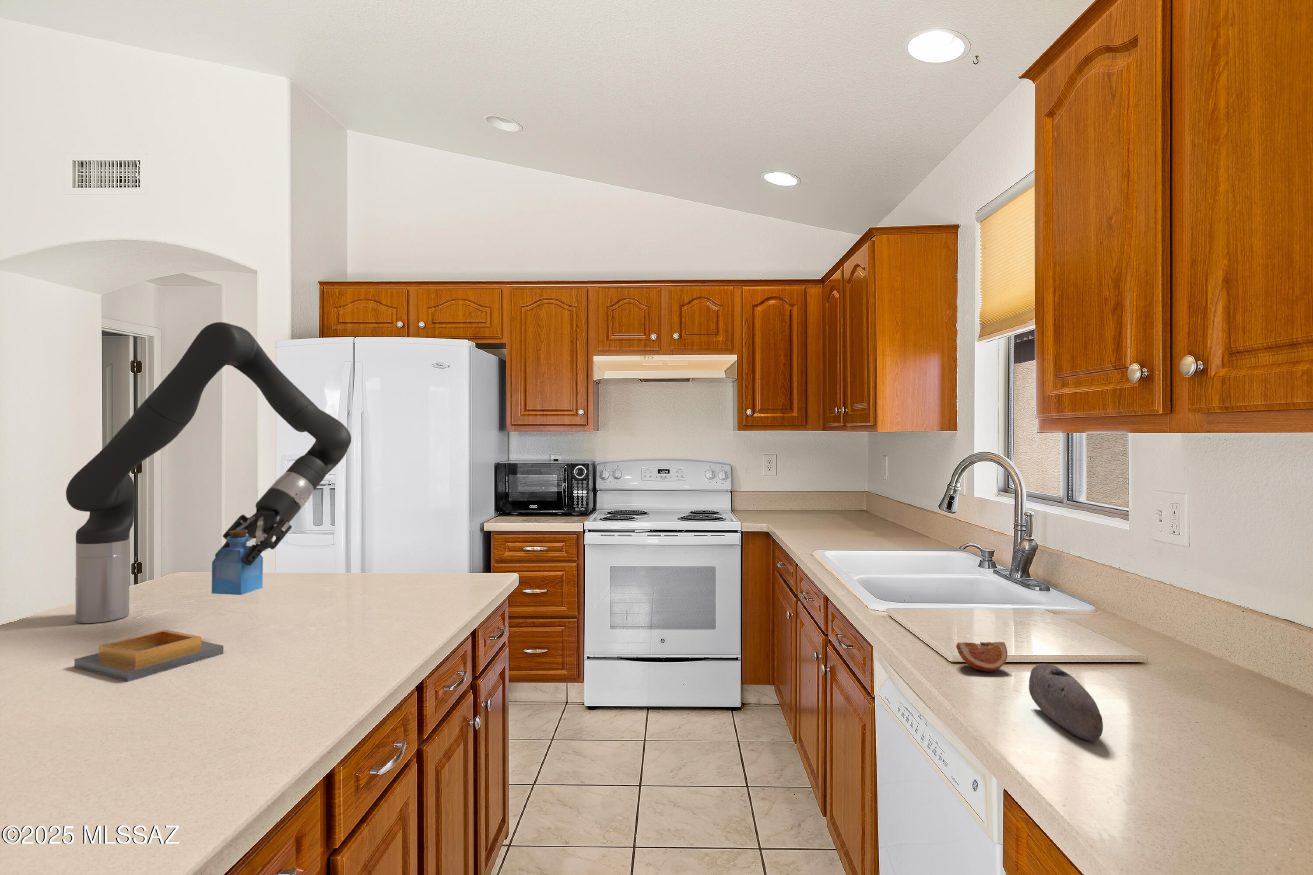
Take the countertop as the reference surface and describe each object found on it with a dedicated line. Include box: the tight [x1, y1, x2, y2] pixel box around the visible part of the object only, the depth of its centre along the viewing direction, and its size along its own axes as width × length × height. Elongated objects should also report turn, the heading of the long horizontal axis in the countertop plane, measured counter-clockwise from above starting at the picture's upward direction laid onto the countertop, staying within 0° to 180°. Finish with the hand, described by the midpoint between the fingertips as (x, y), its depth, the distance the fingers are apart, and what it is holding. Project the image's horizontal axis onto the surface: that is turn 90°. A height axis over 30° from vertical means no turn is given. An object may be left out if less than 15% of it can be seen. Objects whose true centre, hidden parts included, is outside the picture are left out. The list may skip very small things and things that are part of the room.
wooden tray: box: [74, 629, 224, 683], centre depth 123 cm, size 16×16×4 cm
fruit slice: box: [955, 641, 1008, 673], centre depth 121 cm, size 8×7×5 cm
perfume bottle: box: [211, 530, 264, 596], centre depth 136 cm, size 6×6×12 cm
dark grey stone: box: [1028, 663, 1104, 742], centre depth 97 cm, size 15×5×7 cm, turn 175°
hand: (231, 561), depth 135 cm, fingers closed on perfume bottle, 7 cm apart
